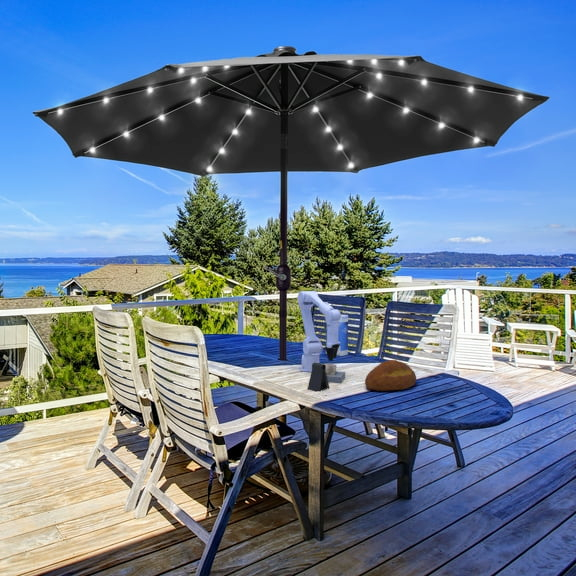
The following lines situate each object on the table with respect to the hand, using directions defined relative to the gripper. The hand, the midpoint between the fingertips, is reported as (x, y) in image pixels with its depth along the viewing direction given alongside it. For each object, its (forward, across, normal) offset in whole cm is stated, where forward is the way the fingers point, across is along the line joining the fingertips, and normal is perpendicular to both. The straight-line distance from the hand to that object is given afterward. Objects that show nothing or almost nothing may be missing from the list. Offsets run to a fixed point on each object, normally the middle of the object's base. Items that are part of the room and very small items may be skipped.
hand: (332, 359), depth 240 cm
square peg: (+9, -4, 0) cm, 10 cm away
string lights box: (+10, +63, +11) cm, 64 cm away
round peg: (+10, +7, +2) cm, 12 cm away
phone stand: (+10, -23, +1) cm, 25 cm away
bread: (+10, -6, -31) cm, 33 cm away
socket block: (+10, -4, 0) cm, 10 cm away
